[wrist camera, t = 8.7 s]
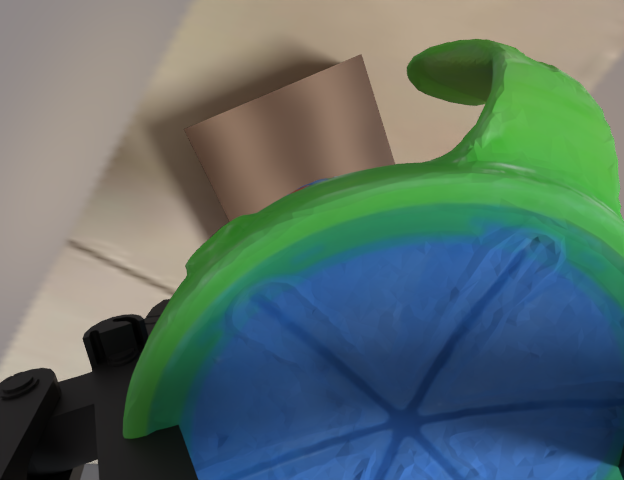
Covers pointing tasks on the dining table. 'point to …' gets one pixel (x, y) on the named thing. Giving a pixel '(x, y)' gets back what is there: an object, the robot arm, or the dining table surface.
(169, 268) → the dining table surface
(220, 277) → the snack cup
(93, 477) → the slate block
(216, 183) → the walnut block
